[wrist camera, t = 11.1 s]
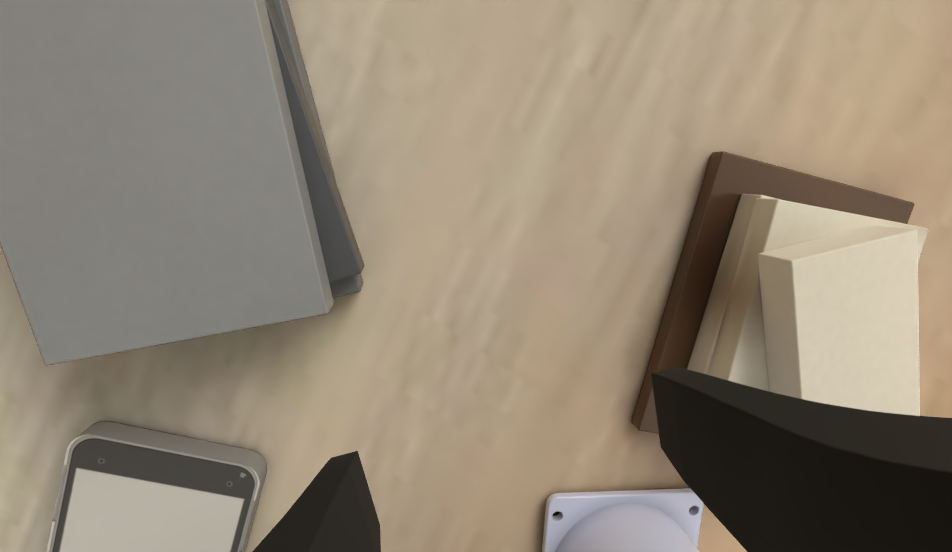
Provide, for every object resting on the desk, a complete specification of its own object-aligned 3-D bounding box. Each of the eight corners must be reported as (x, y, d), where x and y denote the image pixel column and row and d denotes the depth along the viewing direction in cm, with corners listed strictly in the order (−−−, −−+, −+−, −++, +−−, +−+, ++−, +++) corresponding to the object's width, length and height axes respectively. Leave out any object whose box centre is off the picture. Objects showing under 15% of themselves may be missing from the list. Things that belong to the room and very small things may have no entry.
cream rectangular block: (879, 406, 21) (920, 426, 20) (772, 435, 21) (805, 459, 19) (872, 225, 20) (918, 229, 18) (756, 253, 19) (791, 260, 17)
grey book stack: (373, 282, 21) (364, 307, 17) (124, 340, 20) (51, 382, 16) (281, -66, 18) (243, -138, 14) (-14, -15, 17) (-147, -76, 13)
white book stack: (808, 450, 25) (867, 491, 22) (630, 422, 24) (666, 462, 20) (898, 202, 23) (979, 206, 20) (711, 152, 22) (765, 147, 18)
